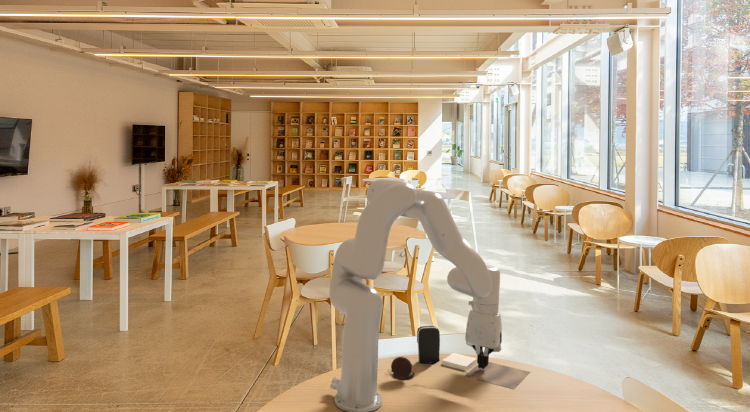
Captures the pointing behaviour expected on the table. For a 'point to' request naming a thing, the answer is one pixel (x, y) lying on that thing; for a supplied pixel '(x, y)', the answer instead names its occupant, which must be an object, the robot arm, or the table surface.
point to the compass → (402, 368)
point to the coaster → (459, 361)
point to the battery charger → (428, 344)
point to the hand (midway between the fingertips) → (482, 366)
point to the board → (498, 375)
